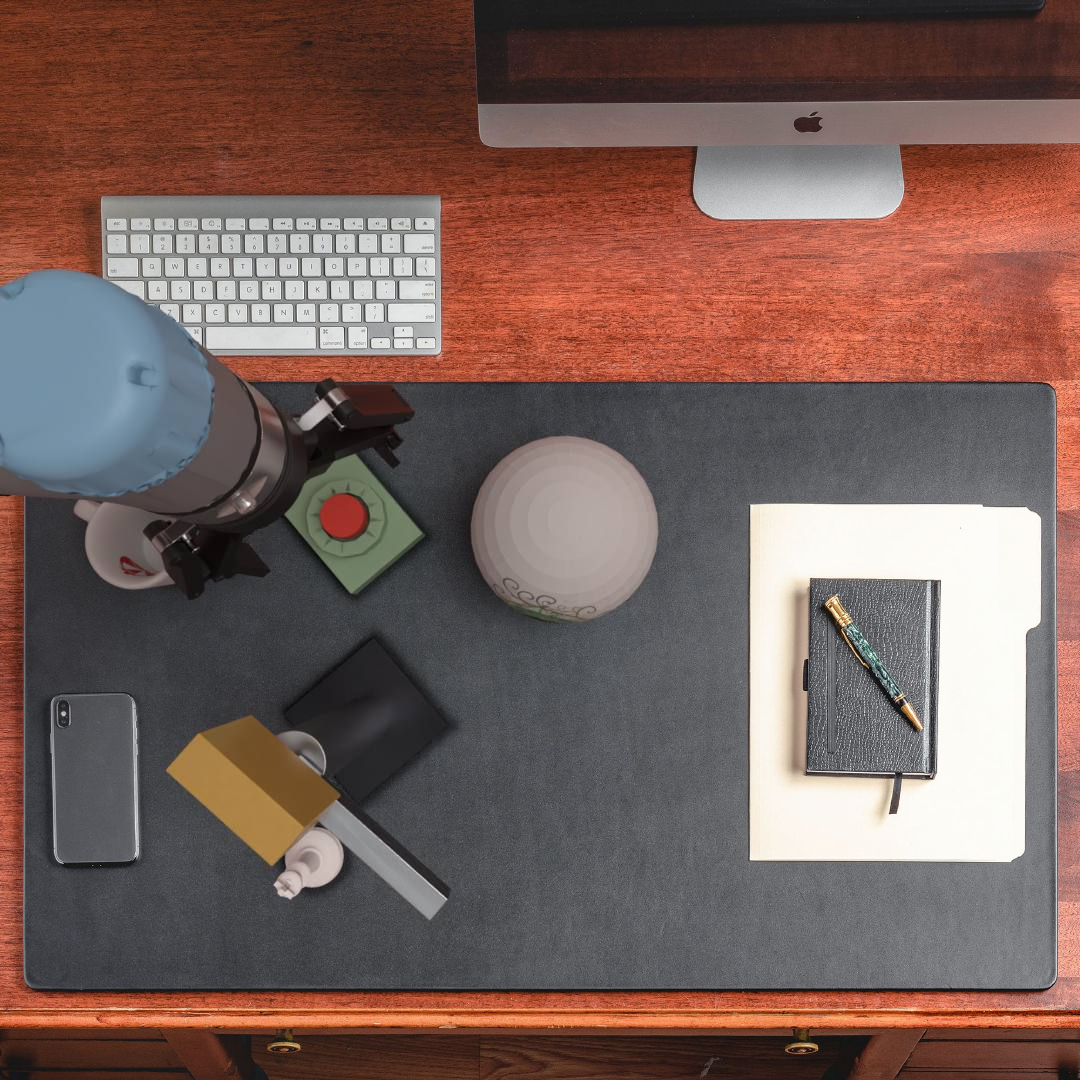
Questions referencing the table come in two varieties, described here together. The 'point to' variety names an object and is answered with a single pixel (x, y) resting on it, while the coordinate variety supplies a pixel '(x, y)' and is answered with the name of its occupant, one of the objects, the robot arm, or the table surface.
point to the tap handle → (292, 806)
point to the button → (343, 516)
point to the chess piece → (310, 862)
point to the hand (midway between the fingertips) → (321, 506)
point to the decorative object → (564, 529)
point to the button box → (381, 536)
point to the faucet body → (363, 721)
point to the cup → (122, 545)
